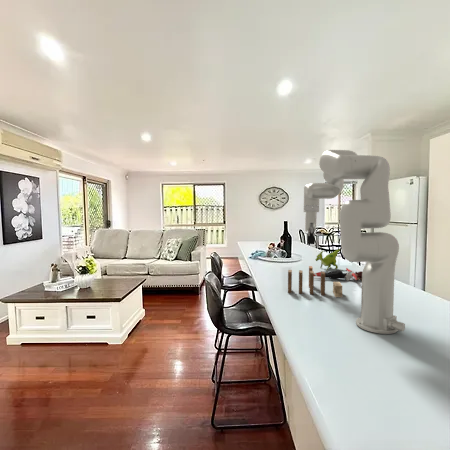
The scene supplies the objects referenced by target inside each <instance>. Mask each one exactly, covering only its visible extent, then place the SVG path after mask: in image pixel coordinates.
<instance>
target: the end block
mask: <svg viewBox="0 0 450 450" xmlns="http://www.w3.org/2000/svg"><path fill="white" fill-rule="evenodd" d="M332 293H333V295H334V297H335V298H343V285H342V283H341V282H340V281H333V282H332Z"/></svg>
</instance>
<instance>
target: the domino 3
mask: <svg viewBox="0 0 450 450" xmlns="http://www.w3.org/2000/svg"><path fill="white" fill-rule="evenodd" d="M313 269H314V268H313V265H309V266H308V288H309V289H310V271H313V272H314V270H313Z"/></svg>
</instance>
